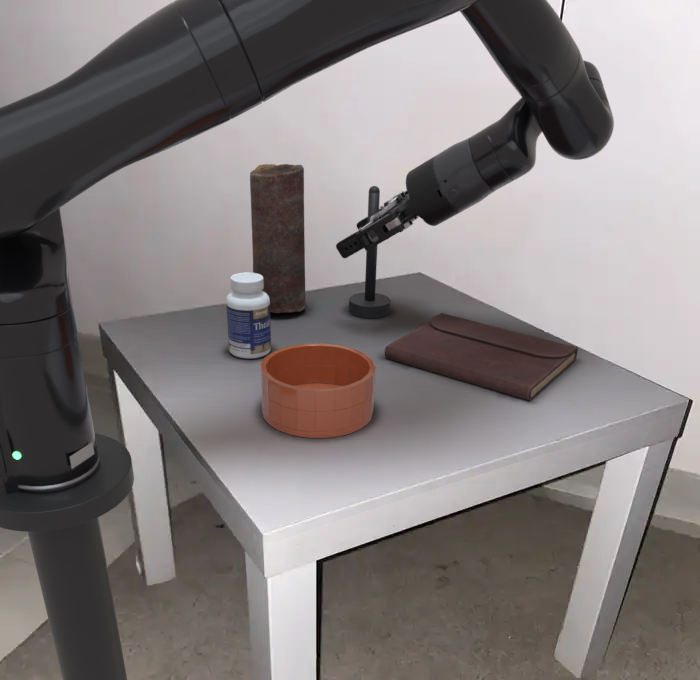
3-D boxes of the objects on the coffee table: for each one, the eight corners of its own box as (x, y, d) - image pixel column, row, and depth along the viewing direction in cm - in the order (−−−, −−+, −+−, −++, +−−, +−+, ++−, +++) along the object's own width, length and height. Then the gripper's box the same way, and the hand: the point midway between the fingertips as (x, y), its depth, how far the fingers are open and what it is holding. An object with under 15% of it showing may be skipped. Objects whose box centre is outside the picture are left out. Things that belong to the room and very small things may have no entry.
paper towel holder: (360, 321, 109) (365, 192, 100) (341, 307, 114) (344, 183, 104) (397, 315, 111) (405, 189, 102) (377, 302, 116) (383, 180, 107)
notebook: (528, 401, 89) (531, 386, 88) (384, 359, 98) (384, 344, 97) (576, 360, 99) (578, 345, 98) (441, 324, 109) (442, 311, 108)
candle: (292, 324, 107) (290, 173, 97) (245, 316, 110) (238, 167, 99) (313, 306, 114) (313, 162, 103) (268, 299, 116) (264, 157, 105)
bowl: (288, 448, 78) (287, 399, 76) (246, 398, 88) (244, 353, 85) (392, 424, 83) (395, 378, 80) (342, 380, 92) (343, 337, 90)
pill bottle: (260, 362, 96) (258, 286, 91) (221, 356, 97) (216, 280, 92) (278, 346, 100) (276, 273, 95) (240, 340, 102) (236, 268, 97)
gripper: (449, 141, 101) (352, 200, 110) (422, 170, 90) (316, 233, 99) (477, 192, 103) (379, 247, 112) (453, 226, 93) (347, 283, 101)
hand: (350, 240), depth 106 cm, fingers open, 8 cm apart
